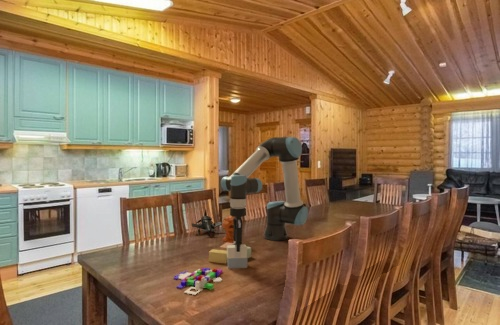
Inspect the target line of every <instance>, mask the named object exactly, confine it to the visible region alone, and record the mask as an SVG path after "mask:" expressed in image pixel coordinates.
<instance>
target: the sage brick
mask: <svg viewBox="0 0 500 325" xmlns="http://www.w3.org/2000/svg"><path fill="white" fill-rule="evenodd" d="M249 258H252V247H250V246H247V259H249Z"/></svg>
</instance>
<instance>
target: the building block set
mask: <svg viewBox="0 0 500 325" xmlns="http://www.w3.org/2000/svg"><path fill="white" fill-rule="evenodd" d="M222 273H223V269H221V268H219V269H218V268H213V269H211V268H210V267H209V268H208V267H202V268H198V269H197V270H195V271H193V272H189V271H187V270H185V271H181V272H179V274H175V275H174V277H173V280H175V279H176V280H175V281H178V280H179V279H181V280H180V284H178V285H177V286H176V289H178V288H180V290H182V289H184V288H185V287H186V286H188V285H191V286H190V287H189V288H187V289H186V290H184V291H183V294H184V293H187V294H186V295H189V294H192V295H191V296H193V295H196V294H197V293H198V294H200V293H201V292H202V291H203V288H205V289H207V290H208V289H212V290H213V289H214V284H213V283H214V282H215V283H221V282H223V279H222V278H221V277H220V275H221V274H222ZM218 276H219V277H218ZM216 277H217V278H216ZM177 279H178V280H177ZM212 280H213V281H212ZM211 281H212V282H213V283H210V282H211ZM184 286H185V287H184ZM194 286H195V287H194ZM183 287H184V288H183ZM181 288H182V289H181ZM191 289H195V290H191ZM190 290H191V291H190ZM197 290H198V291H197ZM200 291H201V292H200ZM199 292H200V293H199ZM198 294H197V295H198ZM197 295H196V296H197Z"/></svg>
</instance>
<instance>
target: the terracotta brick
mask: <svg viewBox="0 0 500 325" xmlns="http://www.w3.org/2000/svg"><path fill="white" fill-rule="evenodd" d="M227 245H234V243H228V242H226V243H225V242H224V243H222V244H221V245H220V246H219V249H218V250H226V251H227Z"/></svg>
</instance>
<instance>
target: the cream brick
mask: <svg viewBox="0 0 500 325" xmlns="http://www.w3.org/2000/svg"><path fill="white" fill-rule="evenodd" d="M247 247H248V246H247V245H246V244H241V258H247ZM227 258H228V259H231V258H235V245H227ZM247 259H248V258H247Z"/></svg>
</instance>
